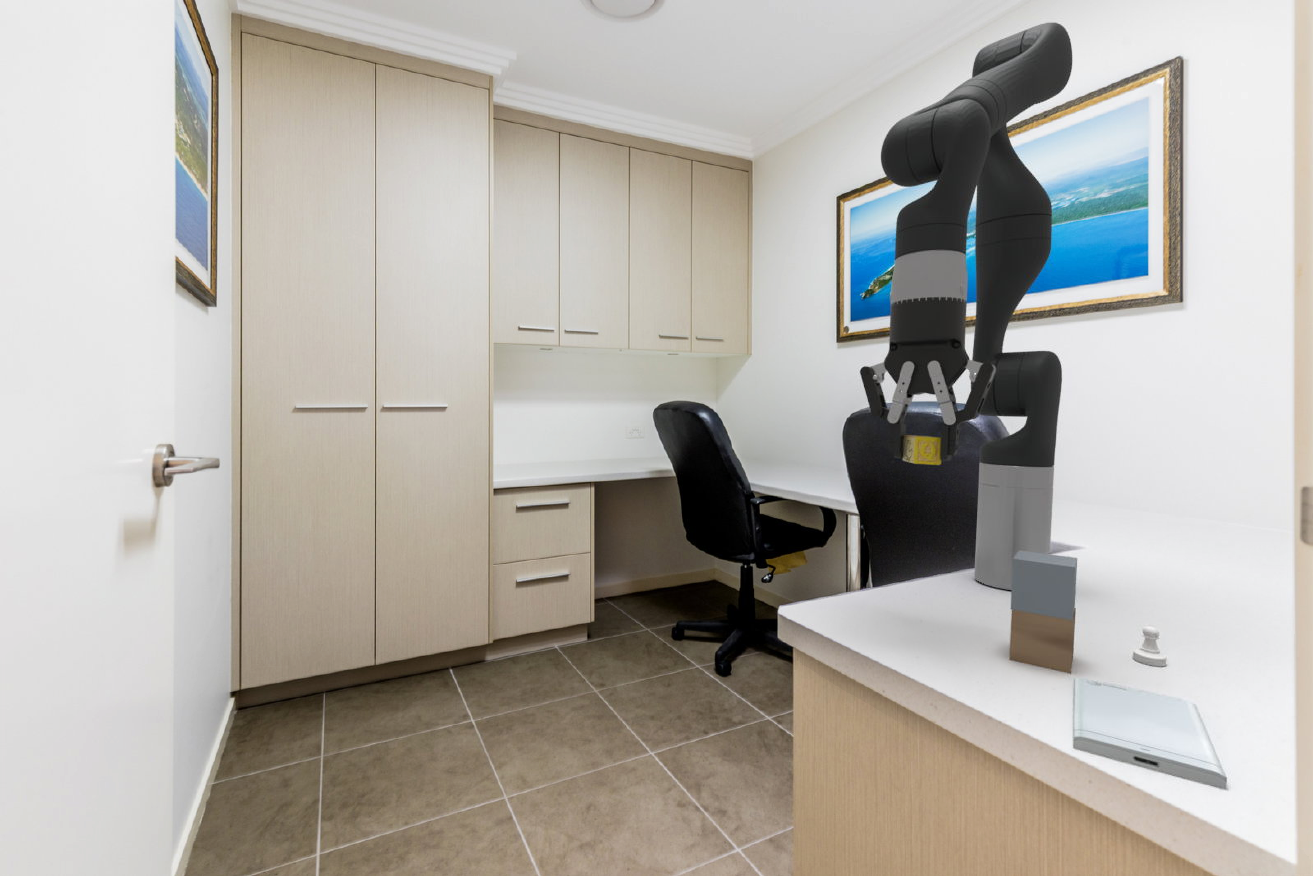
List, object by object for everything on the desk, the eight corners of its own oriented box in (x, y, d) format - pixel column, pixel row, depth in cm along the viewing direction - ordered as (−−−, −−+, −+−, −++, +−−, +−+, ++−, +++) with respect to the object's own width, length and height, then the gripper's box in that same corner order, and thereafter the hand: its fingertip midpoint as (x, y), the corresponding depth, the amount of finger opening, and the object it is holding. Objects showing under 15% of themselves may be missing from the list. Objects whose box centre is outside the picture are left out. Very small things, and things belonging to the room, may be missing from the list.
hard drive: (1074, 675, 54) (1073, 732, 44) (1196, 701, 50) (1228, 772, 39) (1073, 694, 54) (1072, 755, 44) (1195, 722, 50) (1226, 798, 39)
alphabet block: (929, 462, 68) (930, 435, 68) (942, 465, 65) (943, 436, 65) (901, 462, 68) (902, 434, 68) (913, 464, 65) (914, 436, 65)
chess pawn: (1160, 659, 61) (1162, 624, 61) (1170, 669, 59) (1172, 633, 59) (1128, 655, 62) (1130, 620, 62) (1137, 664, 60) (1139, 628, 60)
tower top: (1016, 597, 64) (1019, 550, 64) (1074, 607, 61) (1077, 558, 61) (1010, 609, 60) (1013, 558, 60) (1072, 620, 57) (1075, 567, 57)
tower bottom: (1015, 645, 64) (1017, 598, 64) (1073, 657, 61) (1075, 608, 61) (1009, 660, 60) (1011, 609, 60) (1070, 674, 57) (1073, 621, 57)
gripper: (1007, 300, 65) (1000, 461, 66) (871, 311, 73) (866, 453, 74) (997, 287, 59) (989, 465, 60) (850, 301, 67) (845, 456, 68)
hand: (921, 458), depth 67 cm, fingers closed on alphabet block, 4 cm apart
